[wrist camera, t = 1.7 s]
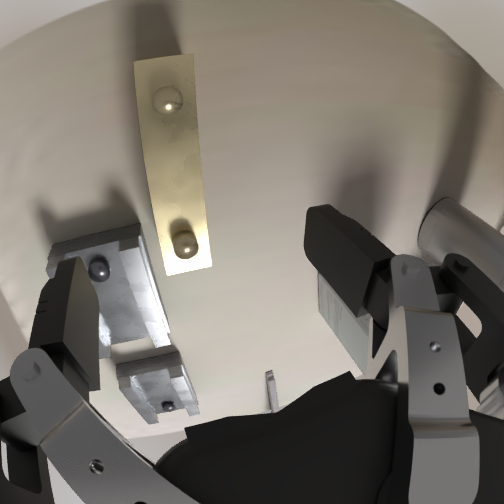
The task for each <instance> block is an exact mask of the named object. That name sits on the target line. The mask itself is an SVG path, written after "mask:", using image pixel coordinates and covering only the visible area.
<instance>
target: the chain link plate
mask: <svg viewBox="0 0 504 504" xmlns="http://www.w3.org/2000/svg"><path fill="white" fill-rule="evenodd" d="M134 76H135V88H136V99H137V109H138V117H139V126H140V134H141V141H142V148H143V155H144V162H145V168H146V174H147V180H148V186H149V192H150V197H151V203H152V208H153V213H154V218H155V223H156V228H157V233H158V237H159V242H160V246H161V251H162V255H163V259H164V264H165V268H166V272H167V276H168V275H172V274H177V273H181V272H186V271H190V270H195V269H199V268H204V267H208V266H211V258H210V249H209V241H208V232H207V223H206V213H205V204H204V194H203V183H202V172H201V161H200V149H199V136H198V122H197V107H196V90H195V71H194V54H183V55H174V56H166V57H159V58H152V59H146V60H140V61H134Z"/></svg>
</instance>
